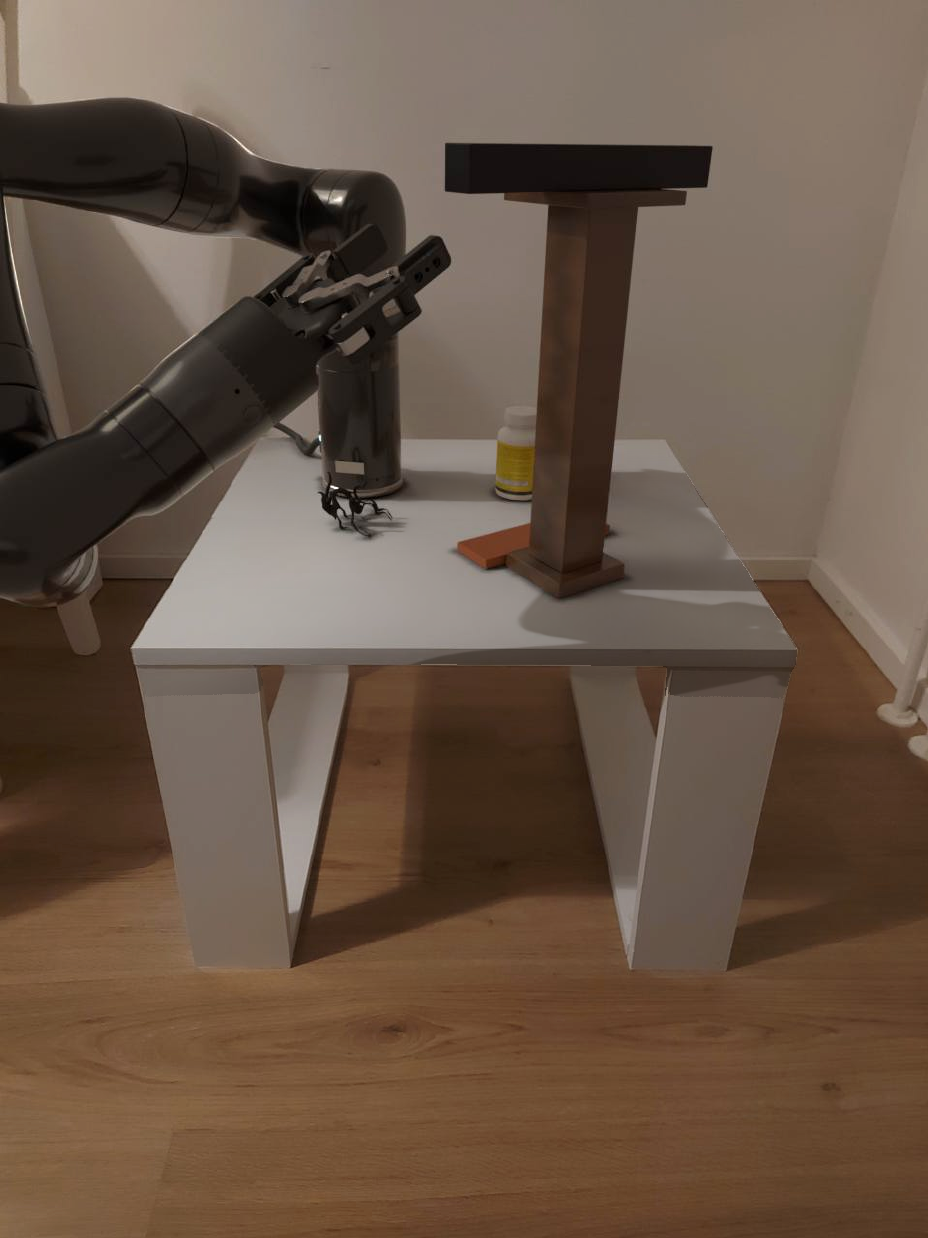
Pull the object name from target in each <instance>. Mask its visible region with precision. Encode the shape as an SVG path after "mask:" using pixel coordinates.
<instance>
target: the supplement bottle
mask: <svg viewBox="0 0 928 1238" xmlns="http://www.w3.org/2000/svg"><path fill="white" fill-rule="evenodd" d="M536 414H537V407H533V406H528V405H514V406H509V407H507V408H505V409H504V424H505V426H503V427H502V428H500V429H499V430H498V431H497V432H498V433H497V438H496V440H497V441H496V460H495V479H494V481H495V483H494V491H495V493H496V494H497V496H499V497H500V498H503V499H506V500H512V501H530V500H532V486H533V468H534V450H535V432H536Z"/></svg>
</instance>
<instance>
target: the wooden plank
mask: <svg viewBox="0 0 928 1238" xmlns="http://www.w3.org/2000/svg"><path fill="white" fill-rule="evenodd" d="M610 528H611V525H610V524H609V523H608V522H606V530H605V536H606V535H609V534H610V530H611V529H610ZM529 540H530V522H528V523H525V524H521V525H517V526H514V527H513V526H512V527H509V528H505V529H502V530H498V531H493V532H490V533H487V534H482V535H480V536H475V537H471V538H468V539H464V540H459V541H457V548H456V550H457V552H458V553H460V554H461V555H463V556H464V557H466V558H467V559H469V560H470V561H472V562H474V563H476V564H477V565H478V566H480V567H482V568H483V569H485V570H488V569H492V568H495V567H499V566H502V565H506V557H507V552H511V551H514V550H518V549H521V548H525V547H528V546H529Z"/></svg>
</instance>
